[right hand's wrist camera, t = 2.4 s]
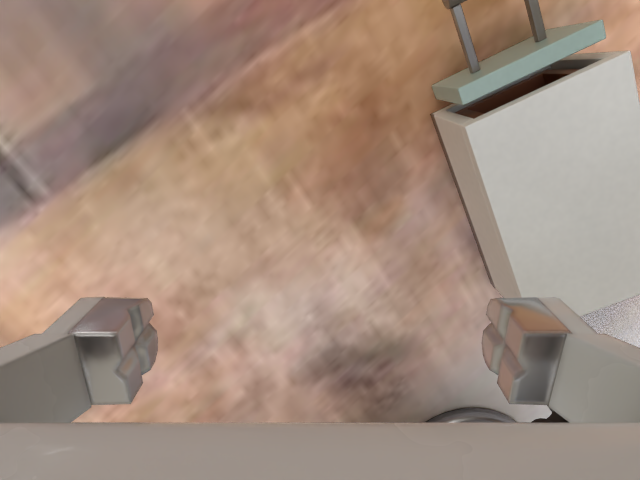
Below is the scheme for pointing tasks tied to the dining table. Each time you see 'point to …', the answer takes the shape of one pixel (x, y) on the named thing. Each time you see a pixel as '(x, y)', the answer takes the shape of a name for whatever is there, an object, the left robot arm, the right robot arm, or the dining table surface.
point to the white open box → (555, 183)
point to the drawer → (512, 62)
